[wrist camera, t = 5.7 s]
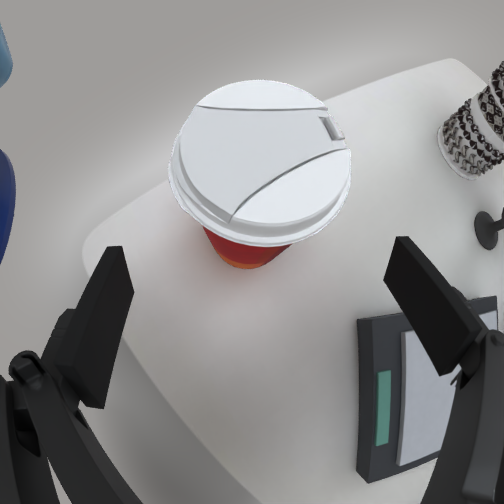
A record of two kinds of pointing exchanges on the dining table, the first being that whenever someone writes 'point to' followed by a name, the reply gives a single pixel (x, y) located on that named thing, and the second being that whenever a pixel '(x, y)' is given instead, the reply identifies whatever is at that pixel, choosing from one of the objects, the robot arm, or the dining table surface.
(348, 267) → the dining table surface
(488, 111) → the decorative candle
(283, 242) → the coffee cup
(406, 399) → the scale
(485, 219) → the sundae
